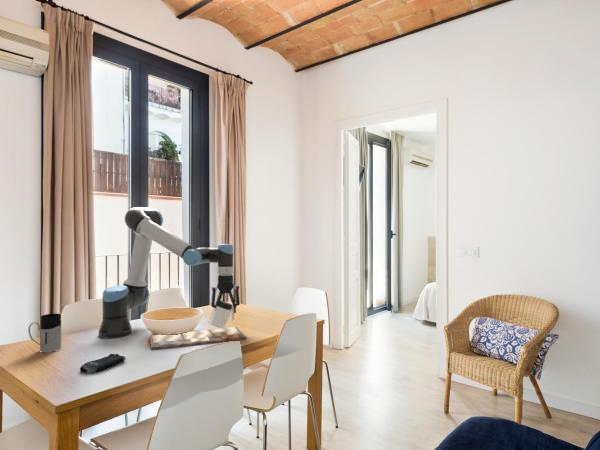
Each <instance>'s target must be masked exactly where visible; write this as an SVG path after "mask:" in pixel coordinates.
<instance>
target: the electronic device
mask: <svg viewBox="0 0 600 450" xmlns="http://www.w3.org/2000/svg"><path fill="white" fill-rule="evenodd" d="M125 361H126V356H125V355H120V354H118V353H109V355H107V356H104V357H101V358H99V359H94V360H90V361H87V362H85V363H83V364H82V365H81V366H80V367H79V374H86V375H90V374H91V375H92V374H98V373H101V372H103V371H106V370H108V369H112V368H114V367H116V366H118V365H119V364H124V363H125ZM84 370H87V371H86V372H83V371H84Z"/></svg>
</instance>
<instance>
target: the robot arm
mask: <svg viewBox="0 0 600 450" xmlns="http://www.w3.org/2000/svg"><path fill="white" fill-rule="evenodd" d="M124 222H125V225H126V226H127V227H128V228H129V229H130V230H131V231H133V234H135V236H134V241H133V248H132V254H131V258H130V264H129V268H128V275H127V278H126V279H124V281H123V284H122V285H115V286H109V287H107V288H105V289H104V290H103V291H102V321H101V324H100V327H99V329H98V337H99V338H101V337H102V338H101V339H117V338H123V337H127V336H129V335H131V334H132V333H133V327H132V325H131V321H130V319H129V310H132V309H134V308H140V307H141V306H143V305H145V304H146V302H147V301H148V299H149V297H150V291H149V288H148V282H146V275H147V271H148V264H149V260H150V259H149V258H150V254H151V248H152V243H153V242H155V243H156V244H158V245H160V246H161V247H163V248H165V249H167V251H169V252H171V253H173V254H175V255H176V256H177V257H179V258H181V259H183V263H185V265H187V266H189V267H191V266H192V267H193V266H199V265H203V264H207V263H211V264H212V263H213V264H215V263H217V274H218V275H217V285H216V286H211V292H212V293H211V294H212V295H211V302H210V306H211V307H212V308H216V306H217V303H218V301H220V300H221V301H222V297H223V295H224V294H228V295H229V299H230V301H231V305H232V309H231V313H230V320H232V321H234V320H235V314H236V313H237V307H239V306H240V295H239V294H240V293H239V289H240V286H239V285H234V275H233V274H234V246H233V245H232V244H231V243H220V244H218V245H217V247H195V246H193V245H191V244H190V243H189V242H187V241H184V240H183V239H182V238H180V237H179V236H177V235H175V234H173V233H171V232H170V231H168V230H167V229H165V228H163V227H162V226H163V222H164V217H163V215H162V213H161V212H160V211H159V210H158V209H156V208H152V207H141V206H140V207H139V206H137V207H136V206H135V207H132V208H130V209H129V210H128V211H126V213H125V216H124ZM217 289H218V290H217ZM233 289H234V295H235V299H234V295H233V292H232V290H233ZM217 291H219V292H218V296H217V298H216V293H217Z"/></svg>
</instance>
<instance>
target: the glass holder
mask: <svg viewBox="0 0 600 450" xmlns="http://www.w3.org/2000/svg"><path fill="white" fill-rule="evenodd" d="M34 324H36V326H37V330H38V331H40V332H39V334H40V335H39V342H37V341H36V340H35V339H34V338H33V336H32V335H31V328H32V325H34ZM28 336H29V337H30V339H31V341H32V342H34V343H35V344H36V345H38V346H39V350H40V351H42V352H50V353H53V352H52V351H55V352H57V351H56V350H59V351H61V350H62V349H63V346H62V314H61V313H47V314H42V315H41V316H40V324H39V323H38V322H37V321H34V322H31V323H30V324H29V326H28ZM61 348H62V349H61ZM60 349H61V350H60Z"/></svg>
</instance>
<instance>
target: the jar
mask: <svg viewBox="0 0 600 450" xmlns="http://www.w3.org/2000/svg"><path fill="white" fill-rule="evenodd" d="M232 306H233V305H232V303H229V302H227V301H225V300H222V299H221V300H220V301H218V303H217V306H216V308H214V307H212V310H211V313H210V316H209V318H208V320H207V323H208V324H209V325H211V326H212V327H213V326H214V327H215V328H217V329H222V328H226V326H227V323H228V320H229V318H230V317H231V309H232Z"/></svg>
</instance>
